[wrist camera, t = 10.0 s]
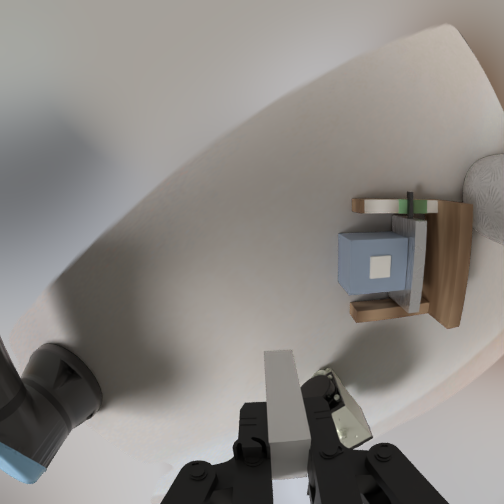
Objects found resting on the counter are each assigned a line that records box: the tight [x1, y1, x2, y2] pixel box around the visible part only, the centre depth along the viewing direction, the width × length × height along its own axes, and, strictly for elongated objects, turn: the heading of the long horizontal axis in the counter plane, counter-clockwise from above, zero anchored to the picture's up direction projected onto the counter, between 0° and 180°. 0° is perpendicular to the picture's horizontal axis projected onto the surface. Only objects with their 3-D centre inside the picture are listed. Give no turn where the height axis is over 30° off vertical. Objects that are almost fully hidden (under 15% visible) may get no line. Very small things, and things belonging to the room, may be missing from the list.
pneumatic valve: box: [301, 368, 373, 449], centre depth 33 cm, size 6×12×12 cm, turn 37°
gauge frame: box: [350, 198, 473, 329], centre depth 30 cm, size 12×15×8 cm
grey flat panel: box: [388, 192, 427, 313], centre depth 31 cm, size 2×13×6 cm, turn 3°
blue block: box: [338, 231, 408, 295], centre depth 32 cm, size 7×6×5 cm
